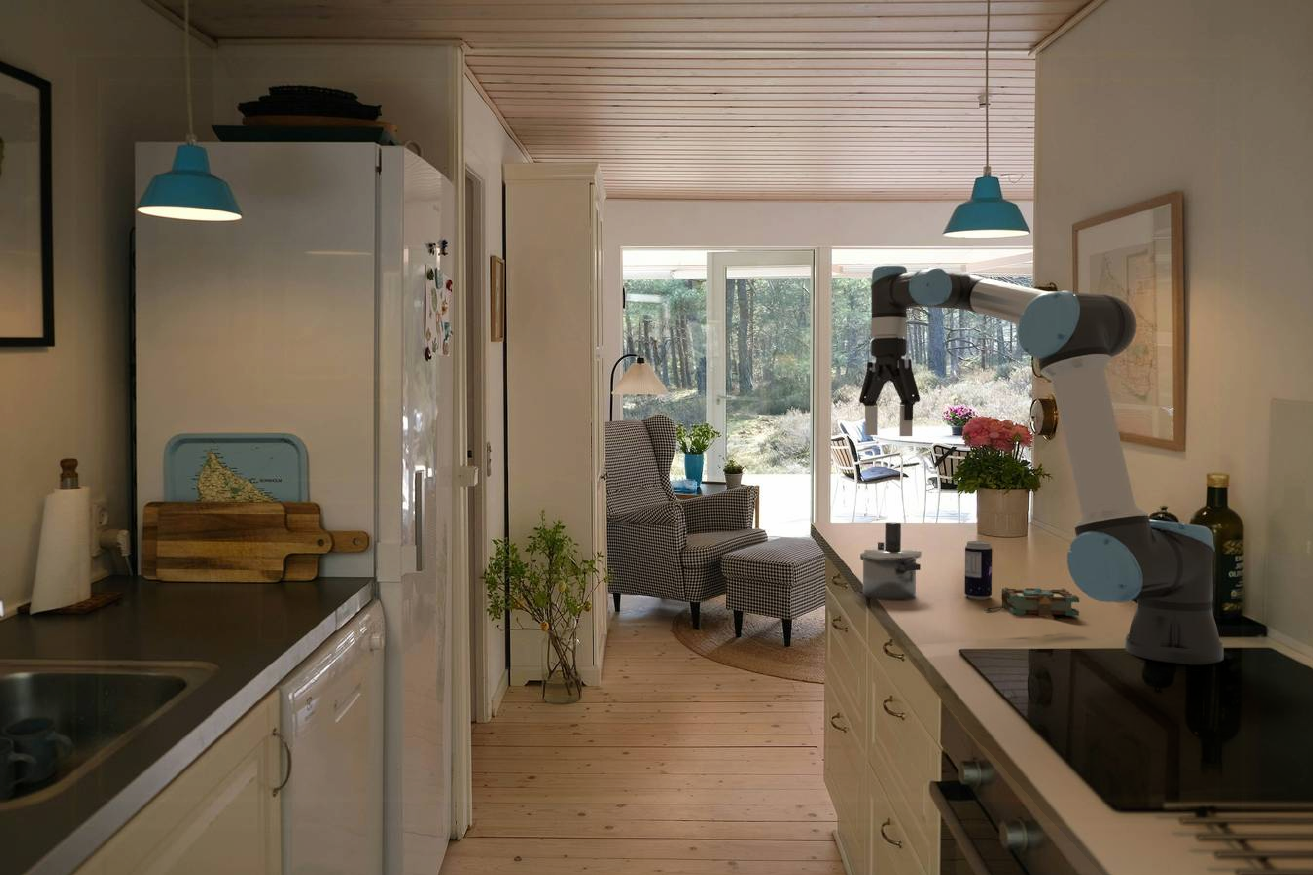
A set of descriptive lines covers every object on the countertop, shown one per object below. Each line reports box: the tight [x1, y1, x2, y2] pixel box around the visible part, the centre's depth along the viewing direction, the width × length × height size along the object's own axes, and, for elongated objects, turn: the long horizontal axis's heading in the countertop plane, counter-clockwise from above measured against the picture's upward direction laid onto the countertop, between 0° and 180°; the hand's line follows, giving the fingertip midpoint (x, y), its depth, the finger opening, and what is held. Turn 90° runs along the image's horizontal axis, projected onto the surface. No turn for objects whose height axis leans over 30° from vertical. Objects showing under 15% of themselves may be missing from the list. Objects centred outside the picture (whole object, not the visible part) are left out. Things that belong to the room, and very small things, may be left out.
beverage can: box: [963, 540, 993, 601], centre depth 219 cm, size 6×6×12 cm
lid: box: [863, 522, 923, 560], centre depth 219 cm, size 12×12×7 cm
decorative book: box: [983, 587, 1080, 620], centre depth 205 cm, size 13×18×5 cm
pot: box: [859, 552, 922, 602], centre depth 221 cm, size 12×17×9 cm
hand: (888, 435), depth 222 cm, fingers open, 13 cm apart
